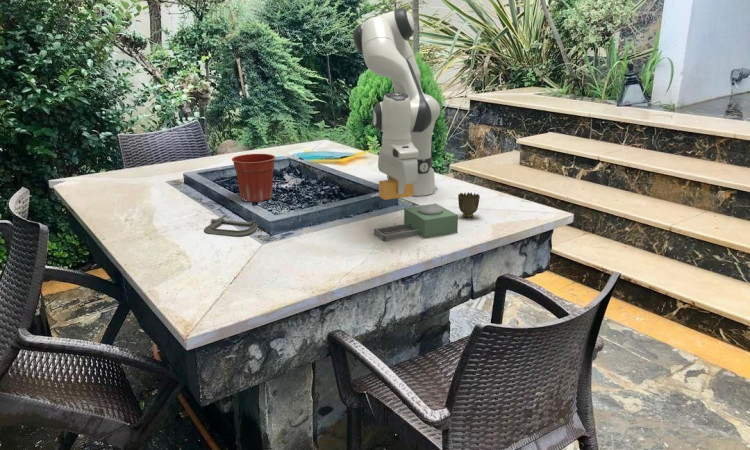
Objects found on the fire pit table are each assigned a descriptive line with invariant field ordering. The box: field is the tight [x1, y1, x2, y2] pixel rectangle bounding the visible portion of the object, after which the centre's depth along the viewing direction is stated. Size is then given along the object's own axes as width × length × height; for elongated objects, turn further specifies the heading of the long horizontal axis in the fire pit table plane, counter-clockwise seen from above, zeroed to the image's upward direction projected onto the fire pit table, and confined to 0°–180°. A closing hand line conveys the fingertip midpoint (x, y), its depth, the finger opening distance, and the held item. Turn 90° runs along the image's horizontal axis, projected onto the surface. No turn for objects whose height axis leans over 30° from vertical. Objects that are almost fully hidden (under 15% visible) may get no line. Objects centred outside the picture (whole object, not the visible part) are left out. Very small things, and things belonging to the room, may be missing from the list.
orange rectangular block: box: [378, 179, 415, 200], centre depth 179 cm, size 4×10×5 cm, turn 114°
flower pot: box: [231, 153, 277, 203], centre depth 222 cm, size 16×16×16 cm
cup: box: [457, 191, 480, 219], centre depth 199 cm, size 8×7×8 cm
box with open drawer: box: [373, 203, 459, 242], centre depth 185 cm, size 14×25×7 cm, turn 115°
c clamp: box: [203, 215, 259, 238], centre depth 192 cm, size 20×17×3 cm
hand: (396, 191), depth 179 cm, fingers closed on orange rectangular block, 4 cm apart
